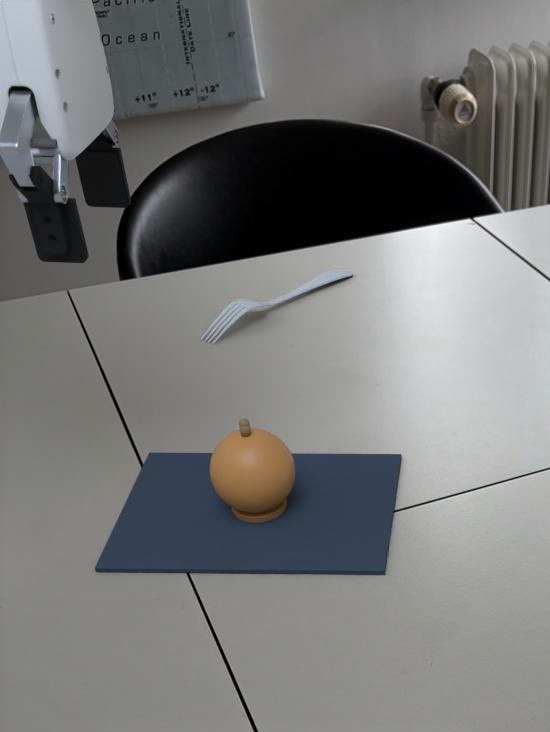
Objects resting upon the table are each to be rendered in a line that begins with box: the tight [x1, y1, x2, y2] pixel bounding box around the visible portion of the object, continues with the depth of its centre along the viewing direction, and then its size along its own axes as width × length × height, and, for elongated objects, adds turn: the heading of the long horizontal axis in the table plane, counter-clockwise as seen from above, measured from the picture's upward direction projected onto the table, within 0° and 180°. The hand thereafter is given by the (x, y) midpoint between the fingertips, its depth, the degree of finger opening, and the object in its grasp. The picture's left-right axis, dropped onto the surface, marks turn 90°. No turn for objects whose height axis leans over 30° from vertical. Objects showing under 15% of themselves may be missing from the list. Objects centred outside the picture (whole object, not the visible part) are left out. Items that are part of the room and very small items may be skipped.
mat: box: [94, 451, 403, 576], centre depth 84 cm, size 22×16×1 cm
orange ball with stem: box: [210, 418, 295, 523], centre depth 81 cm, size 7×7×8 cm
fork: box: [200, 268, 354, 345], centre depth 112 cm, size 3×21×3 cm, turn 142°
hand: (88, 231), depth 72 cm, fingers open, 9 cm apart
